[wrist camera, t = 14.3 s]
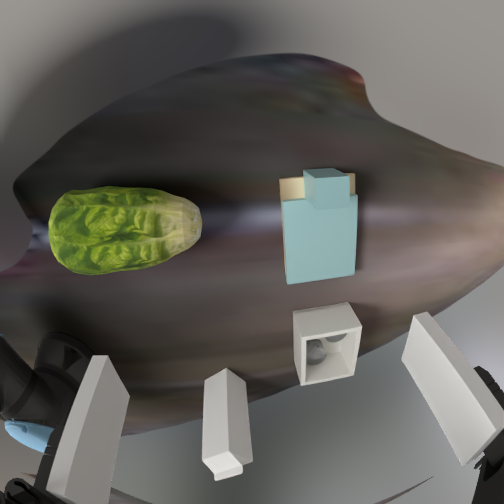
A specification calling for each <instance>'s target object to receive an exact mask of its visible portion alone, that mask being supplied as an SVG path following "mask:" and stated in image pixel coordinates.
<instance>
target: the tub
mask: <svg viewBox="0 0 504 504" xmlns="http://www.w3.org/2000/svg"><path fill="white" fill-rule="evenodd" d="M361 331H362V325H361V323H360V321H359V320H358V318H357V316H356V315H355V313H354V311H353V309H352V308H351V306H350V304H349V303H348V302H345V303H339V304H333V305H327V306H321V307H315V308H308V309H301V310H295V311H293V338H294V362H295V366H296V369H297V373H298V377H299V381H300V385H301V386H303V385H308V384H314V383H320V382H324V381H329V380H334V379H339V378H344V377H348V376H352V375H354V371H355V366H356V361H357V355H358V350H359V344H360V338H361ZM345 333H347V334H346V336H345V337H344V338H343V339H342V340H340V341H338V342H329V341H327V340H326V338H325V337H329V336H334V335H339V334H345ZM312 339H319V340H320V341H321V342H322V345H323V347H324V350H325V353H326V358H325V360H324V361H323V362H321V363H320V364H317V365H308V364H307V363H306V341H307V340H312Z"/></svg>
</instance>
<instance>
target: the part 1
mask: <svg viewBox="0 0 504 504" xmlns="http://www.w3.org/2000/svg"><path fill="white" fill-rule="evenodd" d="M325 358H326V353H325V350H324V347H323V345H322V342H321V341H320V340H319V339H312V340H307V341H306V363H307V364H308V365H317V364H320V363H321V362H323V361H324V360H325Z"/></svg>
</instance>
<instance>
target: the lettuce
mask: <svg viewBox="0 0 504 504" xmlns="http://www.w3.org/2000/svg"><path fill="white" fill-rule="evenodd" d="M202 223H203V222H202V218H201V214H200V210H199V207H197V206H196V205H195V204H194V203H192V202H191V201H189V200H187V199H186V198H182V197H179V196H175V195H172V194H169V193H167V192H164V191H162V190H157V189H152V188H124V187H115V186H106V187H100V188H94V189H90V190H85V191H83V190H72V191H70V192H68V193H66V194H64V195H63V196H62V197H61V198H60V199H59V200H58V201H57V203H56V204H55V206H54V207H53V209H52V212H51V216H50V219H49V240H50V244H51V249H52V251H53V253H54V255H55V257H56V259H57V261H59V262H60V263H61V264H62V265H64V266H65V267H67V268H68V269H70V270H71V271H73V272H75V273H80V274H85V275H98V274H106V273H110V272H115V271H126V270H136V269H143V268H147V267H151V266H154V265H157V264H159V263H162V262H165V261H166V260H168V259H169V258H171V257H173V256H174V255H176V254H178V253H180V252H183V251H185V250H187V249H188V248H190V247H191V246H192V245H194V244H195V243H196V242H197V241H198V240H199V239H200V237H201V230H202Z"/></svg>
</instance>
